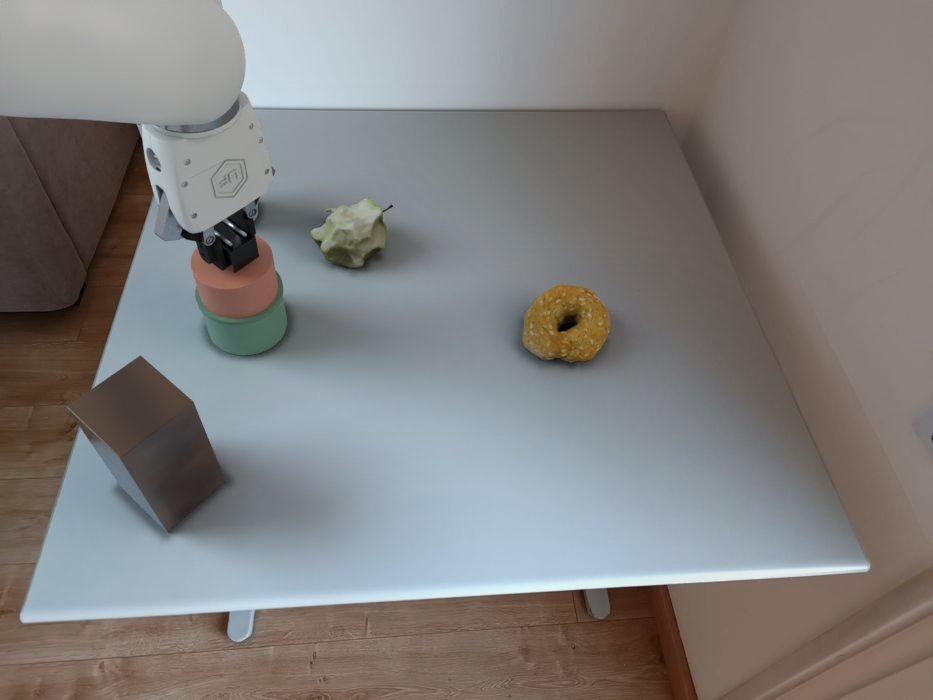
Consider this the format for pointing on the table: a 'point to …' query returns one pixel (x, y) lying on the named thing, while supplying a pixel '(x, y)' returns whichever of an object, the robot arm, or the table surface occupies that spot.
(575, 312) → the bagel
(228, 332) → the cup stack
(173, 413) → the clip stand
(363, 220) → the fruit
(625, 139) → the table surface
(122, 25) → the robot arm
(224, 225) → the clip
